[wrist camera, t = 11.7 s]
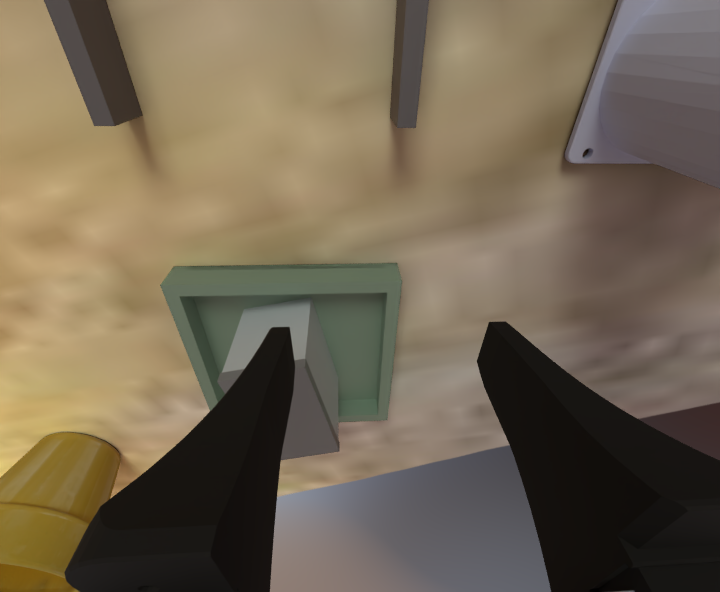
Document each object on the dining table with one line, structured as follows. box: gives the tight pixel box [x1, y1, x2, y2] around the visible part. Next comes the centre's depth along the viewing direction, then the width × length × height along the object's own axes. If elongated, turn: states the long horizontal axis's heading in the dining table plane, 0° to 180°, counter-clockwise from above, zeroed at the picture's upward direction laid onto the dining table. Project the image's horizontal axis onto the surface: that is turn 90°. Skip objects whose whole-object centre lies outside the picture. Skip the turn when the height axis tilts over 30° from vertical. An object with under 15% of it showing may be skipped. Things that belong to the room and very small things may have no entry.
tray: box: [160, 263, 402, 422], centre depth 24 cm, size 14×14×2 cm
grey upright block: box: [217, 297, 339, 460], centre depth 22 cm, size 5×8×6 cm, turn 10°
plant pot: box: [0, 432, 120, 592], centre depth 28 cm, size 10×10×10 cm
